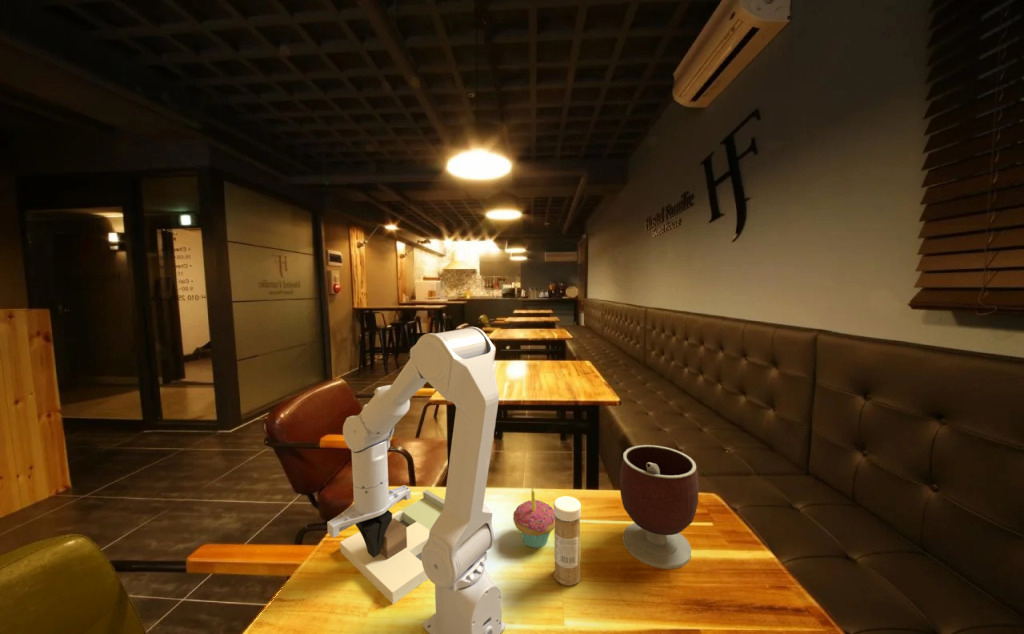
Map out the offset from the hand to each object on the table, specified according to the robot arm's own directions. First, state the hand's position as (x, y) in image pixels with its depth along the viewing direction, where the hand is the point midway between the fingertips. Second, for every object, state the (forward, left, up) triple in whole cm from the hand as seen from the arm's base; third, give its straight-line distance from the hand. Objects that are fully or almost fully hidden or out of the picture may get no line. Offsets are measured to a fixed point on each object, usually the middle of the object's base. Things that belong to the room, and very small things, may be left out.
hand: (374, 553), depth 66 cm
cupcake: (-17, -25, -3) cm, 30 cm away
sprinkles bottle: (-27, -21, -3) cm, 34 cm away
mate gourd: (-36, -38, -3) cm, 52 cm away
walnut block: (0, -3, -1) cm, 4 cm away
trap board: (0, -8, -3) cm, 9 cm away
